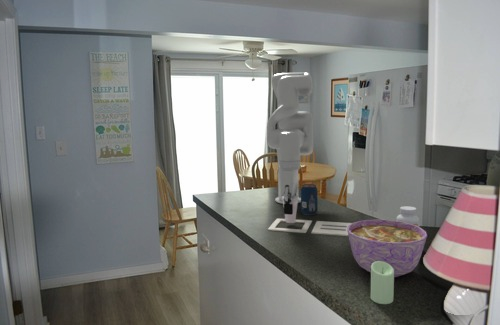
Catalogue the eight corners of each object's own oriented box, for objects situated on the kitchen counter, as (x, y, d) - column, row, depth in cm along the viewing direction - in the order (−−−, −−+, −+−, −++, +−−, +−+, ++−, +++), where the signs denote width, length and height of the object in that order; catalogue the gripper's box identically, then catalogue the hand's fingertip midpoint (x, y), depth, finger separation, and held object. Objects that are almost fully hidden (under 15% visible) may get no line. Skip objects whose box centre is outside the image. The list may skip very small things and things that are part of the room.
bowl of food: (383, 252, 117) (384, 215, 116) (442, 277, 100) (444, 234, 98) (331, 266, 108) (331, 226, 107) (386, 295, 91) (387, 248, 89)
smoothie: (298, 224, 143) (297, 187, 141) (281, 224, 144) (280, 187, 142) (299, 219, 149) (299, 183, 147) (283, 218, 151) (282, 183, 148)
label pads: (276, 219, 155) (276, 218, 155) (354, 224, 146) (354, 223, 146) (267, 230, 142) (267, 228, 142) (352, 236, 133) (352, 234, 132)
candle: (397, 303, 87) (398, 269, 86) (375, 305, 87) (376, 270, 85) (387, 293, 92) (388, 260, 91) (367, 294, 92) (367, 261, 90)
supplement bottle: (401, 242, 125) (402, 204, 124) (422, 247, 121) (423, 207, 119) (391, 248, 121) (393, 208, 119) (413, 253, 116) (414, 212, 114)
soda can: (307, 210, 168) (307, 183, 166) (320, 213, 163) (320, 185, 161) (297, 213, 163) (297, 185, 161) (310, 216, 158) (310, 187, 156)
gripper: (285, 160, 152) (285, 204, 155) (274, 168, 136) (275, 217, 139) (303, 161, 150) (304, 205, 153) (295, 169, 134) (295, 219, 137)
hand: (290, 211), depth 146 cm, fingers closed on smoothie, 6 cm apart
